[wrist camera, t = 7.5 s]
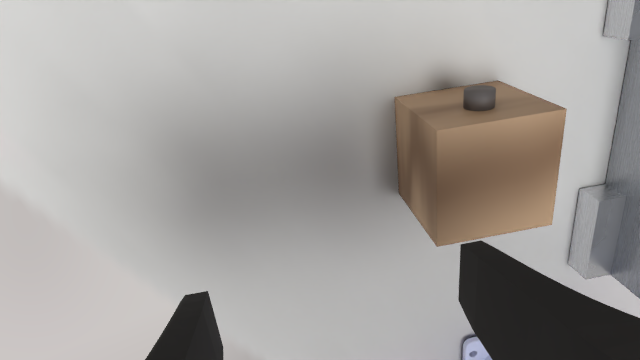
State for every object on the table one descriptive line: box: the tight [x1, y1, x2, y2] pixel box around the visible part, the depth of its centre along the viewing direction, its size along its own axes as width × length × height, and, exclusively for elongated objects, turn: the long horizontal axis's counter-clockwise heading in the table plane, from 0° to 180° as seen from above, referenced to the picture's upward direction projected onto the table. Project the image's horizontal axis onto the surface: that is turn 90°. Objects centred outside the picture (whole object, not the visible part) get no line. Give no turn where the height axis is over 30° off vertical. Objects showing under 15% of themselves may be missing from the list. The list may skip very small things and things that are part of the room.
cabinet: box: [395, 81, 566, 247], centre depth 19 cm, size 6×5×5 cm
